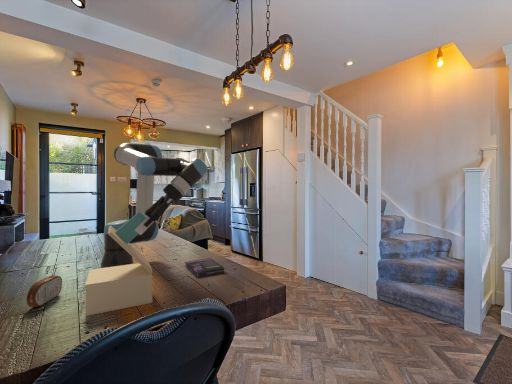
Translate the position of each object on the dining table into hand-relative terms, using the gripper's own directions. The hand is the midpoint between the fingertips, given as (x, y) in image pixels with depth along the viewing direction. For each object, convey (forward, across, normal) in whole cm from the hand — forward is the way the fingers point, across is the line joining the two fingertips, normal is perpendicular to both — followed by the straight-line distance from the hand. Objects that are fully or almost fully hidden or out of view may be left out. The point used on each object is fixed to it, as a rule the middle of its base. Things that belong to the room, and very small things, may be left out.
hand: (136, 230), depth 100 cm
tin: (+38, +11, +3) cm, 40 cm away
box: (-4, +19, -40) cm, 45 cm away
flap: (+7, 0, -3) cm, 7 cm away
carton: (+22, 0, -14) cm, 25 cm away
